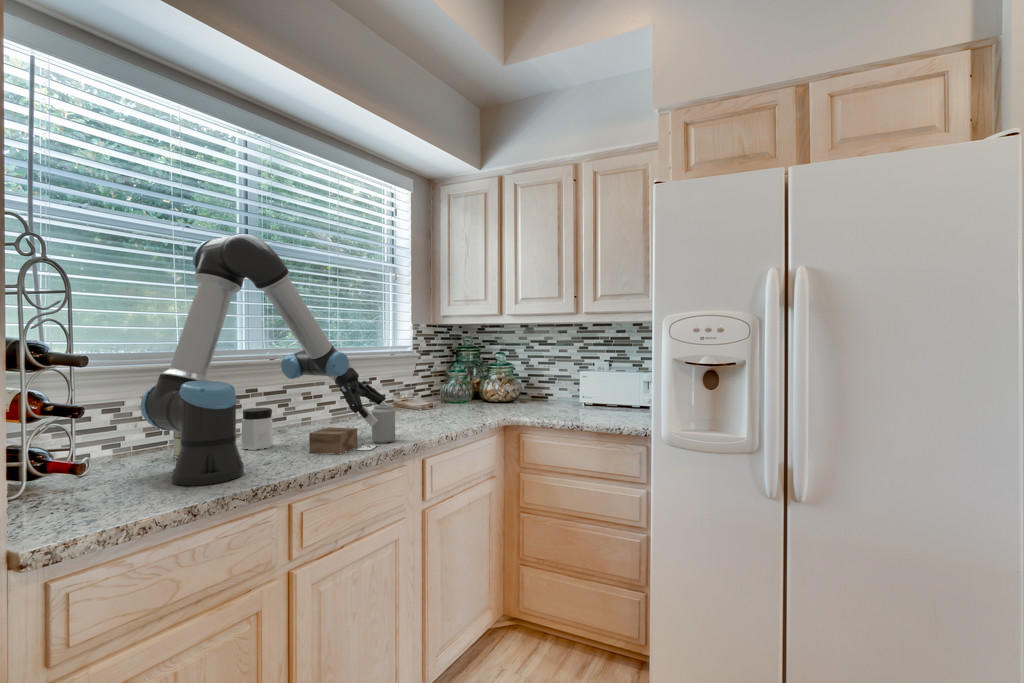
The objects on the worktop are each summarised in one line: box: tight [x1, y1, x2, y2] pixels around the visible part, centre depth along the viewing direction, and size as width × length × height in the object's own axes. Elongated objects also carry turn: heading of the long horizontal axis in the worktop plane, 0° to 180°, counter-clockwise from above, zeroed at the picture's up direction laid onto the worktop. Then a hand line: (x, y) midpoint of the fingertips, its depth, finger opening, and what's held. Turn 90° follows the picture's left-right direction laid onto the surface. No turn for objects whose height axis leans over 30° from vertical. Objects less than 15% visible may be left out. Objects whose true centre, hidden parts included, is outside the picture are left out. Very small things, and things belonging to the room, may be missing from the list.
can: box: [371, 404, 396, 444], centre depth 168 cm, size 8×8×12 cm
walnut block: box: [308, 426, 358, 455], centre depth 155 cm, size 10×10×6 cm
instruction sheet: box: [362, 444, 380, 448], centre depth 158 cm, size 8×5×1 cm, turn 176°
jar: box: [241, 407, 274, 451], centre depth 160 cm, size 9×8×12 cm
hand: (384, 420), depth 169 cm, fingers open, 13 cm apart
